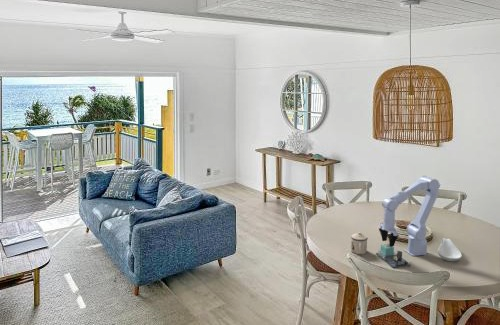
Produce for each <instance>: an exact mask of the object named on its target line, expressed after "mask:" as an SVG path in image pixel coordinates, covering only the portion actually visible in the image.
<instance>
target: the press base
mask: <svg viewBox="0 0 500 325" xmlns="http://www.w3.org/2000/svg"><path fill="white" fill-rule="evenodd" d="M375 255H376V256H377V257H378V258H380V259H381V260H382V261H383V262H384V263H386V264H387V265H389V267H391V268H392V269H395V268H404V267H405V268H406V267H411V264H410V263H409V262H408V261H407V260H406V259H404V258H403V257H402V259H403V260H404V261H405V264H402V265H397V263H396V262H395V261H394V259H393V257H395V256H397V253H395V252H394V254H391V255H384V254H383V253H382V252H381V250H378V251H377V252H376V253H375Z"/></svg>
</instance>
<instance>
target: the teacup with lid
mask: <svg viewBox="0 0 500 325" xmlns="http://www.w3.org/2000/svg"><path fill="white" fill-rule="evenodd" d="M350 238H351V242H350V243H351V245H350V251H351V253H352V254H356V255H365V254H366V253H368V252H367V250H368V239H369V238H368V236H367V235H366V234H363V233H362V231H358V232H356V233H353V234H352V235H351V236H350Z"/></svg>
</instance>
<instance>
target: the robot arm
mask: <svg viewBox="0 0 500 325" xmlns="http://www.w3.org/2000/svg"><path fill="white" fill-rule="evenodd" d="M440 186H441V184H440V182H439V180H438V179H436V178H432V177H430V176H427V175H422V176H420V177H419V178H417V180H416V181H415V182H414V183H413V184H411V185H410V186H408V188H406V189H405V190H398V191H397V192H396V193H395V194H393V195H392V196H390V197H387V198H385V199H383V201H382V203H381V205H382V207H383V221H382V222H381V223H380V224H379V225H380V226H379V227H380V228H378V230H379V232H380V236H381V240H382V242H386V241H388V242H389V243H388V244H389V245H390V246H393V247H395V243H396V241H397V239H398V238H399V233H398V231H397V229H396V228H395V224H396V223H395V222H396V219H395V218H396V210H397V209H398V207H399V206H400V205H401V204H402V203H404V202H406V201H407V200H408V199H409V197H410V196H411V195H413V194H414V193H416V192H418V191H420V190H423V191H424V192H425V194H426V195H425V197H424V199H423V201H422V203H421V205H420V208H419V210H418V212H417V215H416V217H415V219H414V220H412V221H410V223H409V224H408V225H407V227H406V233H407V234H408V235H407V236H408V242H407V244H408V246H407V249H404V252H406V253H407V254H409V255H410V256H412V257H415V256H425V255H428V253H427V252H428V250H427V248H428V241H427V238H426V234H427V229H428V227H427V226H426V223H427V220H428V218H429V216H430V214H431V212H432V210H433V207H434V204H435V203H436V200H437V199H438V196H439V190H440Z"/></svg>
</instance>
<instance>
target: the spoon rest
mask: <svg viewBox="0 0 500 325" xmlns="http://www.w3.org/2000/svg"><path fill="white" fill-rule="evenodd" d="M437 254H438V256H439V257H440V258H441V259H442V260H444V261H447V262H457V261H459V260H460V259H461V258H462V256H463V255H462V252H461V251H460V250H459V248H458V247H457V246H456V245H455V243H454V242H453V241H452V240H451V238H445V237H443V238H442V239H441V241H440V245H439V247H438V249H437Z"/></svg>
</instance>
